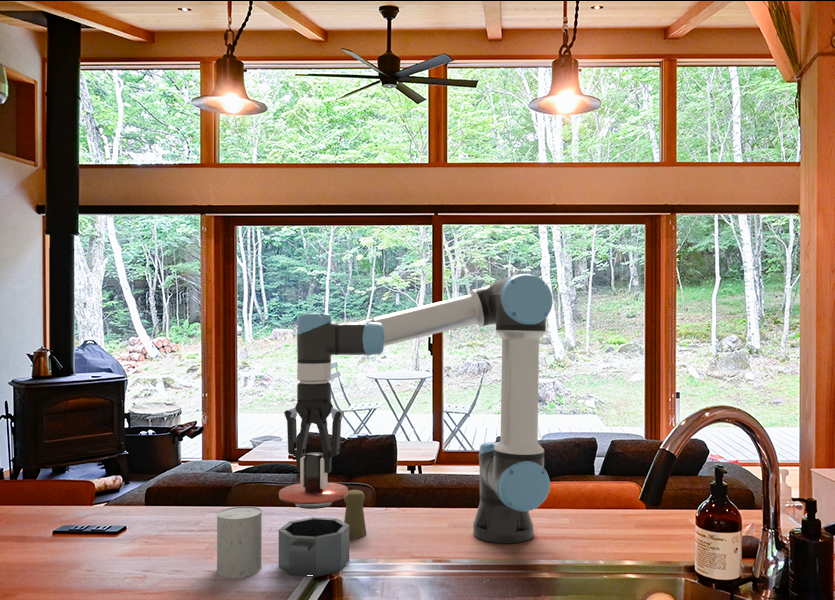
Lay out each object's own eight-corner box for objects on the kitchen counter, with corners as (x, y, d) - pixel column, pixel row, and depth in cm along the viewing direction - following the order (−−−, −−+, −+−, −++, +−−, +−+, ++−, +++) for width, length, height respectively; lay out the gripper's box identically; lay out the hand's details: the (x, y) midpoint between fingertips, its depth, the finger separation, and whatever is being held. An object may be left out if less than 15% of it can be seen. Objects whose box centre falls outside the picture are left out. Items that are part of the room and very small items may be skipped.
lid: (356, 496, 152) (356, 449, 152) (335, 515, 137) (335, 462, 137) (294, 493, 155) (294, 446, 155) (267, 511, 140) (267, 459, 140)
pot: (357, 551, 153) (357, 516, 153) (331, 582, 135) (331, 543, 135) (299, 547, 156) (299, 513, 156) (266, 577, 138) (266, 539, 138)
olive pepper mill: (362, 539, 162) (362, 494, 162) (339, 537, 163) (339, 493, 163) (369, 531, 168) (369, 488, 168) (346, 530, 169) (346, 487, 169)
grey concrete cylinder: (221, 562, 147) (222, 507, 147) (264, 560, 148) (265, 505, 148) (212, 578, 137) (212, 519, 138) (258, 577, 138) (258, 518, 139)
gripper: (355, 380, 149) (355, 484, 148) (285, 379, 152) (284, 481, 151) (345, 383, 142) (345, 492, 141) (271, 382, 145) (271, 489, 144)
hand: (313, 486), depth 146 cm, fingers closed on lid, 4 cm apart
